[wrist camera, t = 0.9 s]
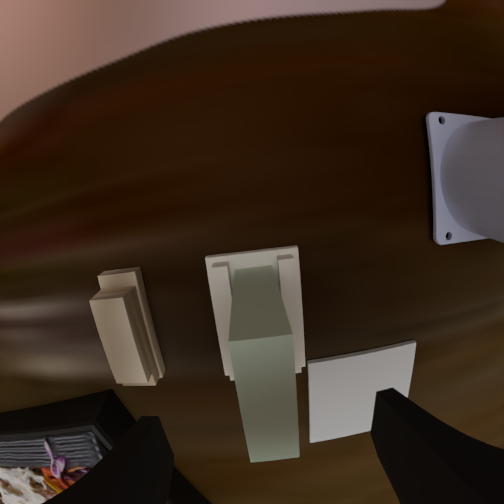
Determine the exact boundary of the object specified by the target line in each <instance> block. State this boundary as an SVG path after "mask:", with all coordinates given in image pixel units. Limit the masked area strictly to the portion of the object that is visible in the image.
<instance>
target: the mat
mask: <svg viewBox="0 0 504 504" xmlns="http://www.w3.org/2000/svg"><path fill="white" fill-rule="evenodd" d="M415 349H416V342H415V340H411V341H407V342H402V343H398V344H394V345H389V346H384V347H380V348H375V349H370V350H365V351H360V352H355V353H350V354H344V355H338V356H333V357H327V358H321V359H314V360H308V361H307V368H308V399H309V440H310V443H312V442H318V441H324V440H329V439H334V438H339V437H344V436H349V435H353V434H358V433H362V432H366V431H370V430H371V426H372V419H373V412H374V405H375V397H376V391H381V390H385V389H389V388H392V387H393V388H394V389H396V390H397V391H398V392H400V393H401V394H403V395H404V396H405V397H407V398H408V393H409V387H410V382H411V376H412V370H413V363H414V356H415Z"/></svg>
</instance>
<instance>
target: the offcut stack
mask: <svg viewBox="0 0 504 504" xmlns="http://www.w3.org/2000/svg"><path fill="white" fill-rule="evenodd" d="M98 280H99V284H100V288H101V290H100V291H99V292H98V293H97V294H96V295H95V296H94V297H93V298H92V299H90V300H89V301H90V305H91V309H92V312H93V315H94V319H95V322H96V325H97V329H98V332H99V335H100V338H101V341H102V344H103V347H104V350H105V353H106V356H107V359H108V361H109V364H110V367H111V370H112V372H113V375H114V378H115V380H116V383H122V384H123V386H148V385H156V384H157V381H158V378H163V376H164V373H165V370H166V369H165V365H164V362H163V358H162V355H161V351H160V347H159V344H158V340H157V336H156V333H155V329H154V325H153V321H152V317H151V313H150V309H149V305H148V300H147V296H146V292H145V287H144V283H143V278H142V273H141V269H140V267H134V268H126V269H118V270H110V271H104V272H103V273H101V274H100V275H99V276H98Z"/></svg>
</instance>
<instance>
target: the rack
mask: <svg viewBox="0 0 504 504" xmlns="http://www.w3.org/2000/svg"><path fill="white" fill-rule="evenodd" d="M205 261H206V267H207V273H208V280H209V286H210V292H211V298H212V304H213V310H214V316H215V322H216V328H217V333H218V339H219V345H220V350H221V355H222V361H223V366H224V371H225V376H228V375H230V381H231V380H235V378H234V372H233V367H232V361H231V355H230V349H229V343H228V338H229V327H230V315H231V304H232V293H233V282H234V272H235V269H241V268H250V267H258V266H267V265H272V268H273V271H274V274H275V277H276V281H277V284H278V287H279V290H280V294H281V297H282V300H283V303H284V307H285V310H286V313H287V317H288V320H289V323H290V326H291V330H292V333H293V344H294V359H295V373H301V367H305V346H304V327H303V310H302V295H301V280H300V267H299V254H298V247H297V245H295V246H287V247H278V248H269V249H261V250H252V251H243V252H235V253H226V254H218V255H209V256H206V257H205Z"/></svg>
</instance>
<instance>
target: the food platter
mask: <svg viewBox="0 0 504 504" xmlns="http://www.w3.org/2000/svg"><path fill="white" fill-rule="evenodd" d="M135 423H136V421H135V419H134V418H133V417H132V415H131V414H130V413H129V412H128V410H127V409H126V408H125V406H124V405H123V404H122V402H121V401H120V399H119V398H118V397H117V395H116V394H115V392H114V391H113V390H112V389H110V390H106V391H102V392H98V393H94V394H90V395H86V396H82V397H78V398H73V399H69V400H64V401H60V402H55V403H51V404H46V405H41V406H36V407H31V408H25V409H20V410H14V411H8V412H2V413H0V493H1V495H2V498H0V499H2V501H3V503H5V504H42V503H43V502H45V501H47V500H49V499H50V498H52V497H54V496H55V495H57V494H59V493H60V492H62V491H64V490H65V489H67V488H68V487H69V486H71V485H72V484H73V483H75V482H76V481H77V480H79V479H80V478H81V477H83V476H84V475H85V474H86V473H87V472H88V471H89V470H91V469H92V468H93V467H94V466H95V465H96V464H97V463H98V462H99V461H100V460H101V459H102V458H103V457H104V456H105V455H106V454H107V453H108V452H109V451H110V450H111V449H112V448H113V447H114V446H115V445H116V444H117V443H118V442H119V441H120V439H121V438H122V437H123V436H124V435H125V434H126V433H127V432H128V431H129V429H130V428H131V427H132V426H133V425H134V424H135ZM20 451H21V452H20ZM39 486H40V487H39ZM166 504H211V503H210V502H209V501H208V500H207V499H206V498H205V497H204V496H203V495H202V494H201V493H200V492H199V491H198V490H197V489H196V488H195V487H194V486H193V485H192V484H191V483H190V482H189V481H188V480H187V479H186V478H185V477H184V476H183V475H182V474H181V473H180V472H179V471H178V470H177V469H176V468H175V467H174V465H173V472H172V480H171V485H170V490H169V494H168V498H167V503H166Z"/></svg>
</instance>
